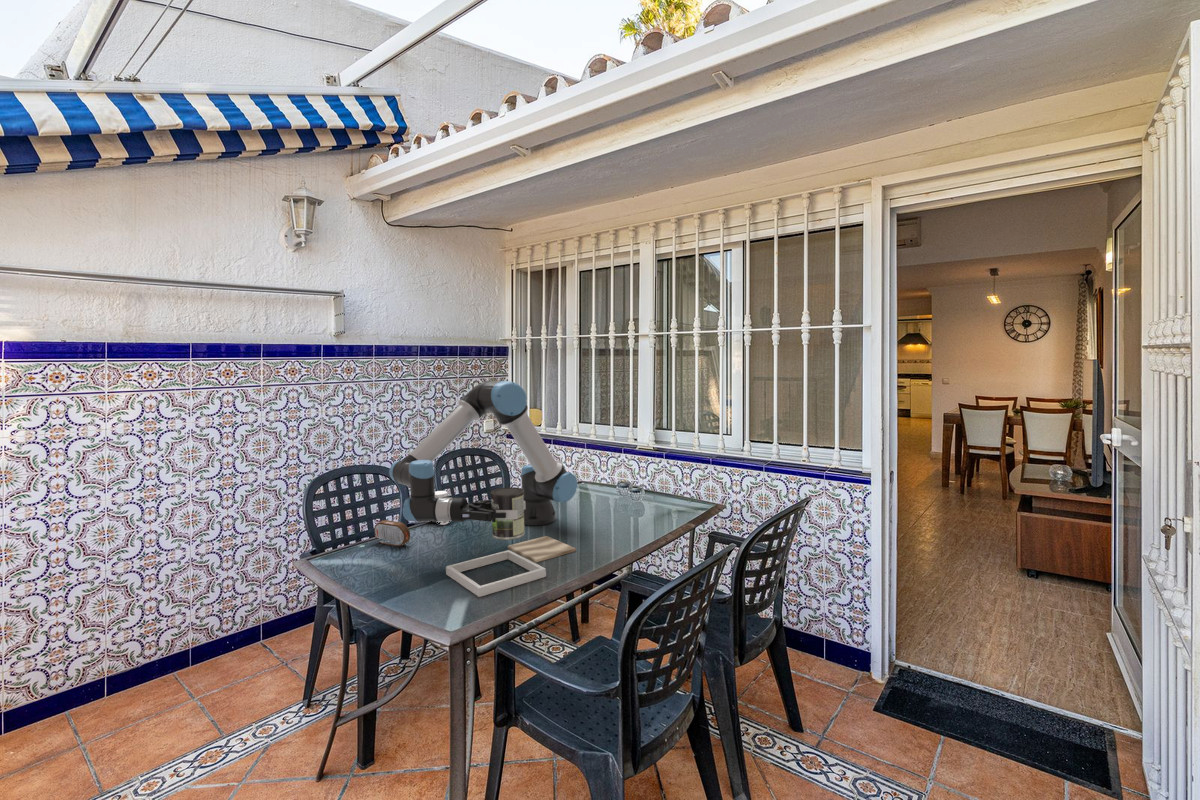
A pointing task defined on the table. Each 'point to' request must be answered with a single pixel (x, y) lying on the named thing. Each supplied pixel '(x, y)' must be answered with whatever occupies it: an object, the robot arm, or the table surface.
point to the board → (541, 548)
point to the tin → (392, 532)
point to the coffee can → (508, 501)
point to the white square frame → (483, 590)
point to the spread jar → (441, 495)
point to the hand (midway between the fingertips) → (521, 509)
